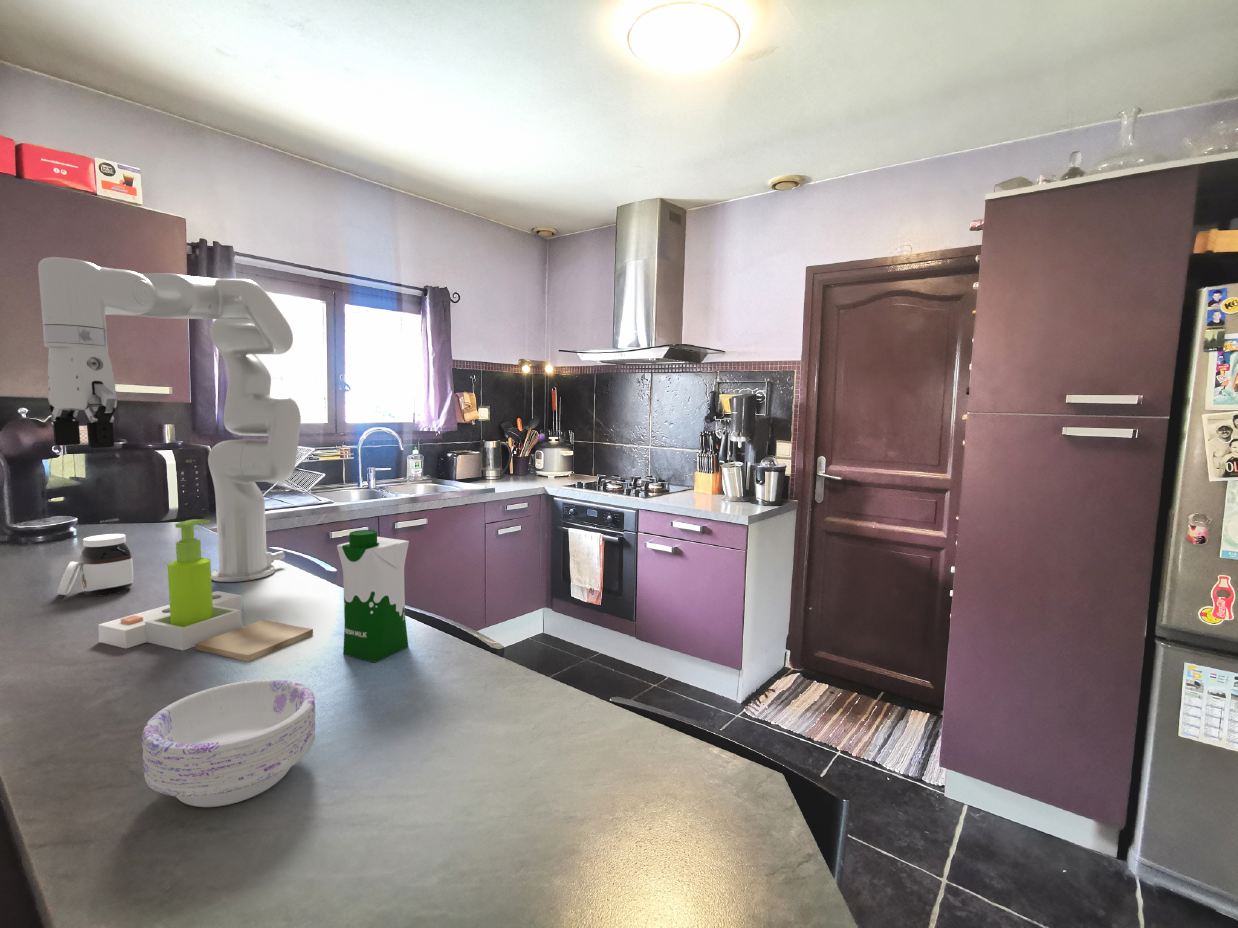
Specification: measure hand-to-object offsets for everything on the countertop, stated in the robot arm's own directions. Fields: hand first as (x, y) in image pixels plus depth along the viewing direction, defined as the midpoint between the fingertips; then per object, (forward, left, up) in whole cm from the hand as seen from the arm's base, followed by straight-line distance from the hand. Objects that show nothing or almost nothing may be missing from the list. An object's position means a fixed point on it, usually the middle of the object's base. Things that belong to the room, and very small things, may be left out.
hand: (84, 446), depth 96 cm
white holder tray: (-10, +9, -33) cm, 35 cm away
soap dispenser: (-8, +13, -33) cm, 36 cm away
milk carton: (-15, +46, -33) cm, 58 cm away
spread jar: (-16, -30, -33) cm, 47 cm away
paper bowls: (+17, +57, -33) cm, 68 cm away
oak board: (-10, +25, -33) cm, 42 cm away
